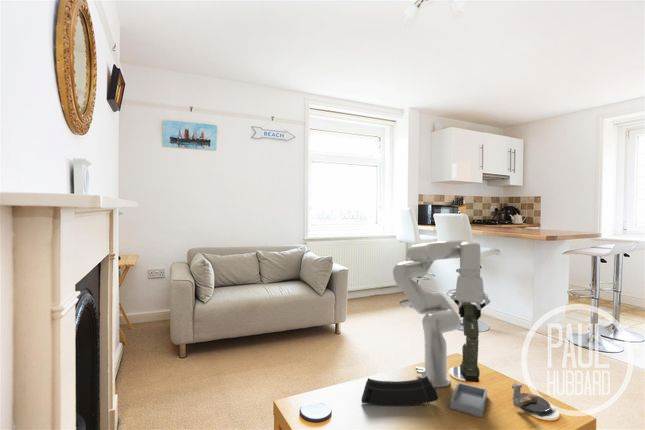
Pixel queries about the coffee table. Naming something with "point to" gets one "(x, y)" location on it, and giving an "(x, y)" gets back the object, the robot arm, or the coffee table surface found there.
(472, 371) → the mechanical leg
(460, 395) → the tray
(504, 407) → the coffee table surface
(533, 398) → the crank
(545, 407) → the crank base
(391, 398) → the magazine
